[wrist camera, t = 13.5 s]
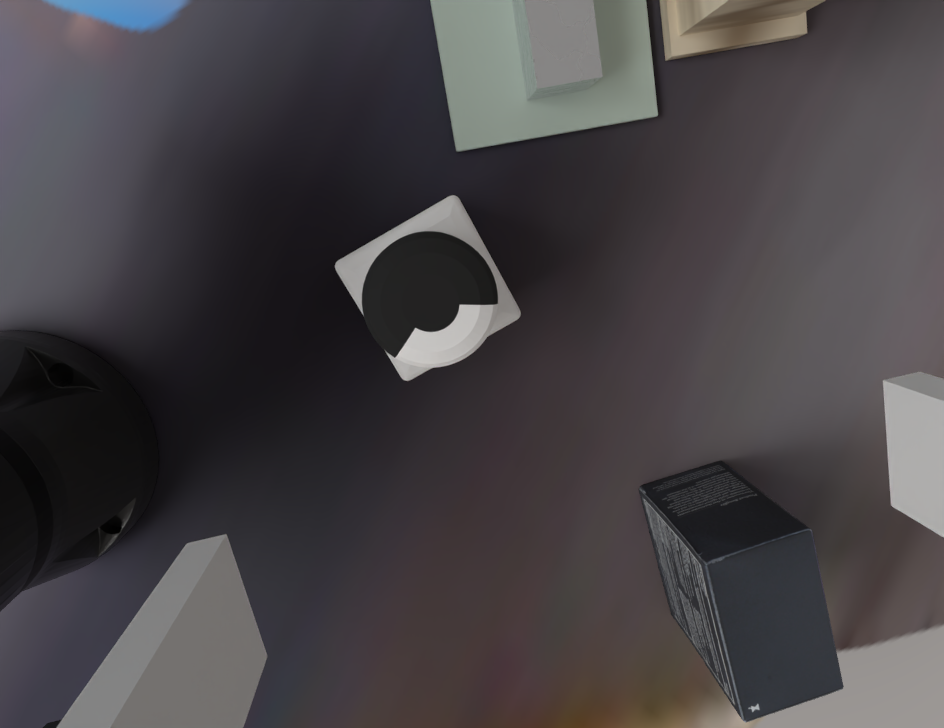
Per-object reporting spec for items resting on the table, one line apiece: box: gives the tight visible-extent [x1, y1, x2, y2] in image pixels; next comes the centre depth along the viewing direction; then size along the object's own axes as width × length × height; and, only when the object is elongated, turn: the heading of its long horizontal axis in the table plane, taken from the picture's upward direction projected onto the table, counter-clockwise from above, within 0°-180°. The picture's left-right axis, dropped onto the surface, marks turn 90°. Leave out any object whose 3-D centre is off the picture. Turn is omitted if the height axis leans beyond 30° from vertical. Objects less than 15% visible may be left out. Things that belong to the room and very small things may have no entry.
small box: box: [639, 461, 843, 722], centre depth 40 cm, size 11×6×10 cm, turn 17°
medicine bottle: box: [335, 195, 521, 381], centre depth 34 cm, size 7×7×12 cm
